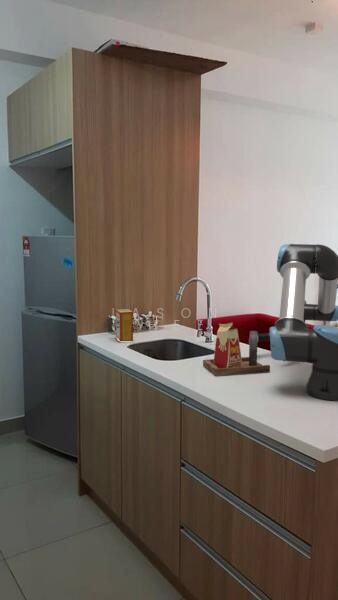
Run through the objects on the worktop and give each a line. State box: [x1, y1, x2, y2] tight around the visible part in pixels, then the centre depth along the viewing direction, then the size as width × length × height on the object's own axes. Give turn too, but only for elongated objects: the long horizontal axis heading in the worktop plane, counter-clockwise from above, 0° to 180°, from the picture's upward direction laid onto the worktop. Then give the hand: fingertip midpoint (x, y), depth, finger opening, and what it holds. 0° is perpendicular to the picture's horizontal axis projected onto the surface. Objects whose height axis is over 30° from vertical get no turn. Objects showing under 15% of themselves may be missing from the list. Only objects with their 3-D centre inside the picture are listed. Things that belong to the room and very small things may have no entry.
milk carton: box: [213, 322, 243, 368], centre depth 194 cm, size 9×9×20 cm
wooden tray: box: [202, 330, 271, 377], centre depth 196 cm, size 15×23×15 cm, turn 105°
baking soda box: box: [115, 308, 134, 342], centre depth 247 cm, size 10×6×16 cm
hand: (263, 343), depth 204 cm, fingers open, 13 cm apart
